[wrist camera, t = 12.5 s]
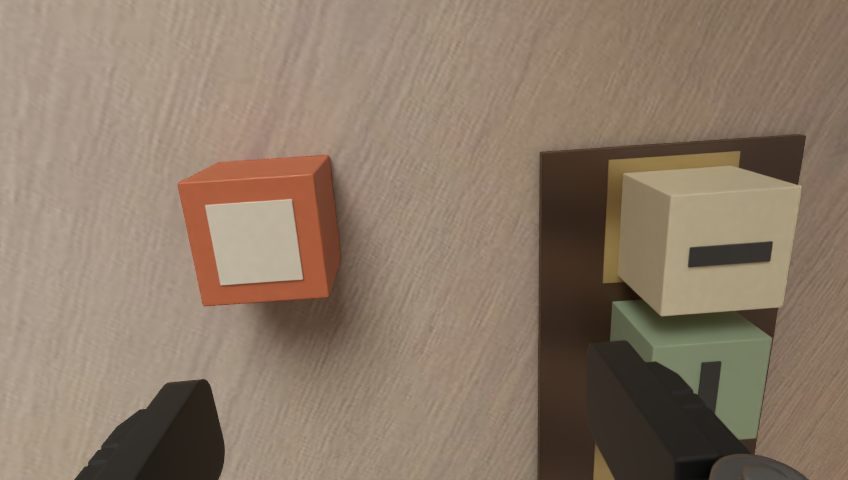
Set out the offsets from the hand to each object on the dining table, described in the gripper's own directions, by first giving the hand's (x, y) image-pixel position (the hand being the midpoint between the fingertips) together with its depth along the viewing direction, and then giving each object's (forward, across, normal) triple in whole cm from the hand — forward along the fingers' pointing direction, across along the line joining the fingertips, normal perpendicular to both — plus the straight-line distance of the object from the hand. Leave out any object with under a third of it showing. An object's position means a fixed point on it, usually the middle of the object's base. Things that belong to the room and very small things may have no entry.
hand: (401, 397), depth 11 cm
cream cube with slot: (+14, -13, +1) cm, 19 cm away
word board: (+14, -12, +8) cm, 20 cm away
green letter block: (+14, -12, +8) cm, 20 cm away
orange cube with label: (+14, +6, -1) cm, 15 cm away
